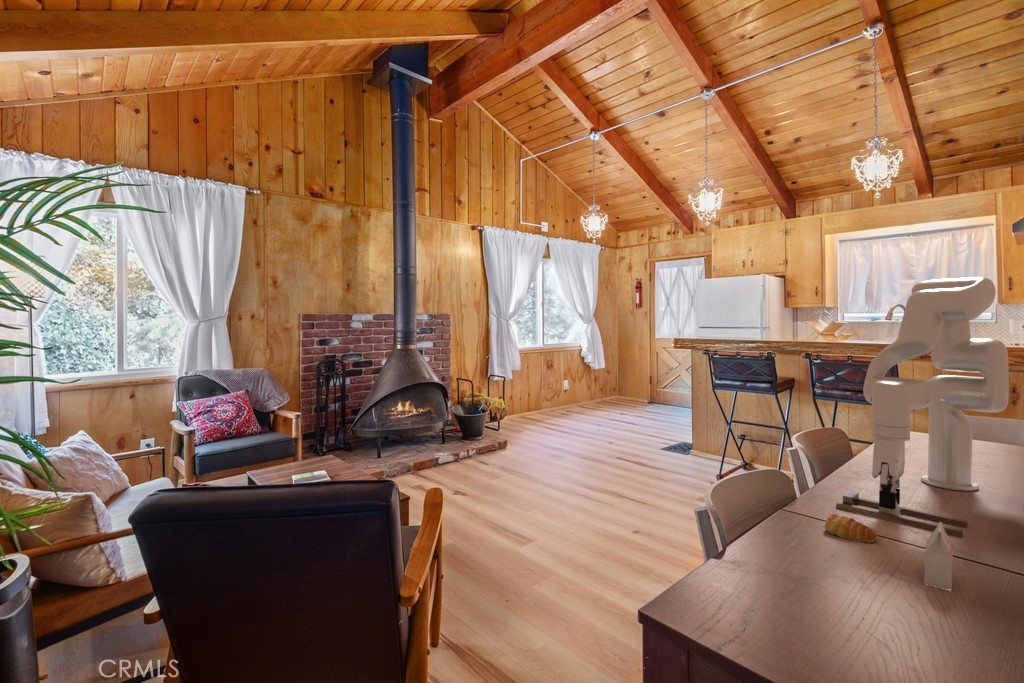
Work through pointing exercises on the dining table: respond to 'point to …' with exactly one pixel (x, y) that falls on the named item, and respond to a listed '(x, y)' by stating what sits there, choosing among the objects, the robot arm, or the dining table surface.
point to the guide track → (905, 519)
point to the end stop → (851, 498)
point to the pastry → (849, 529)
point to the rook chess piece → (895, 511)
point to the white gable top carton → (938, 559)
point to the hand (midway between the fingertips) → (889, 505)
